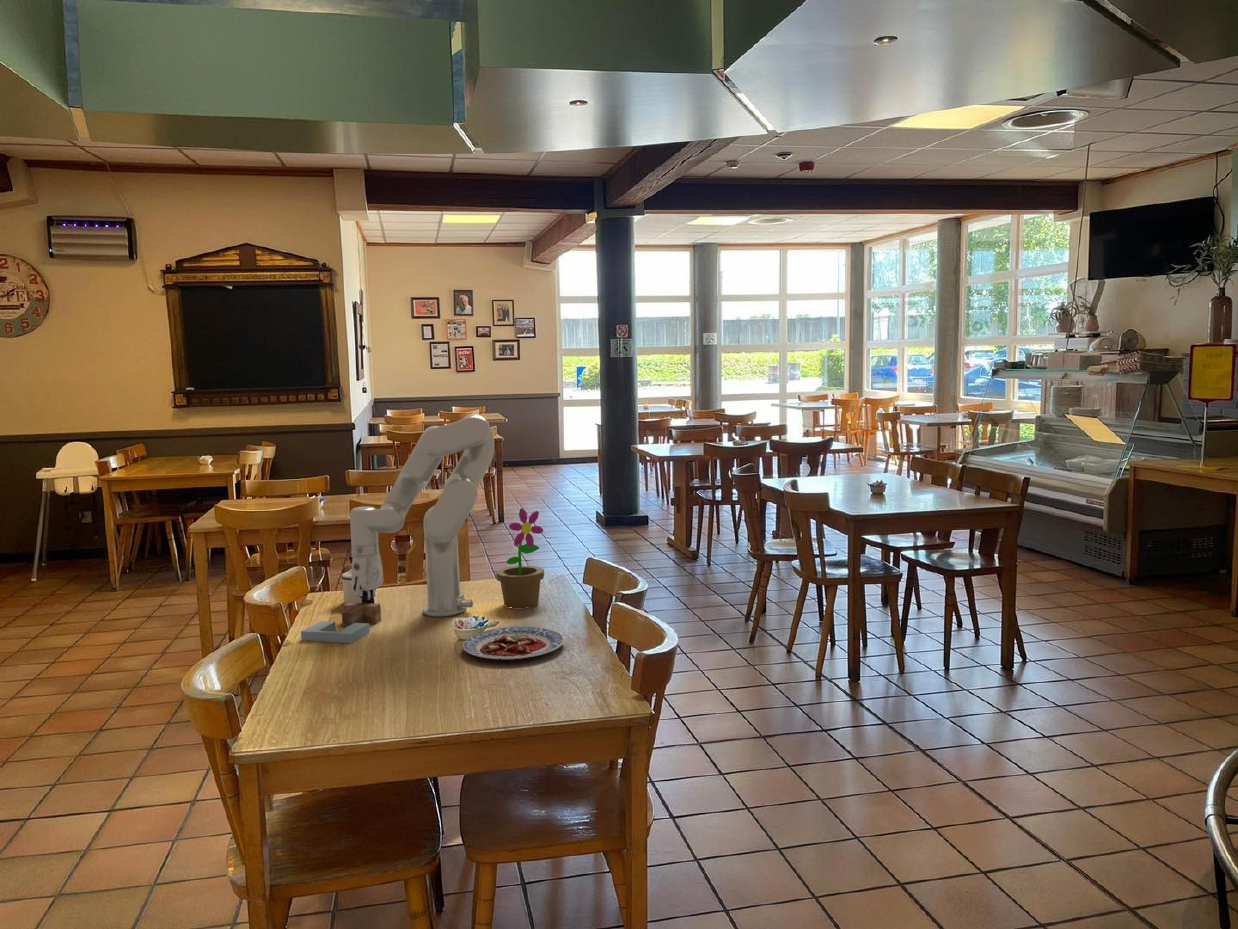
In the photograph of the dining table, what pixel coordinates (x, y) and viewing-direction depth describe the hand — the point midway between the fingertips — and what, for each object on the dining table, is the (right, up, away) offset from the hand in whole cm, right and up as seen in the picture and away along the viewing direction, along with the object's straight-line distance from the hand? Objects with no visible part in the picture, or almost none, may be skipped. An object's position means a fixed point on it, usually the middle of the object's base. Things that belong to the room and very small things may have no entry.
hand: (368, 611), depth 262 cm
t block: (-1, -3, -7) cm, 8 cm away
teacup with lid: (-8, 0, +19) cm, 20 cm away
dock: (-4, -4, -16) cm, 17 cm away
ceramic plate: (+46, -5, -31) cm, 56 cm away
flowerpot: (+43, 0, +11) cm, 45 cm away
